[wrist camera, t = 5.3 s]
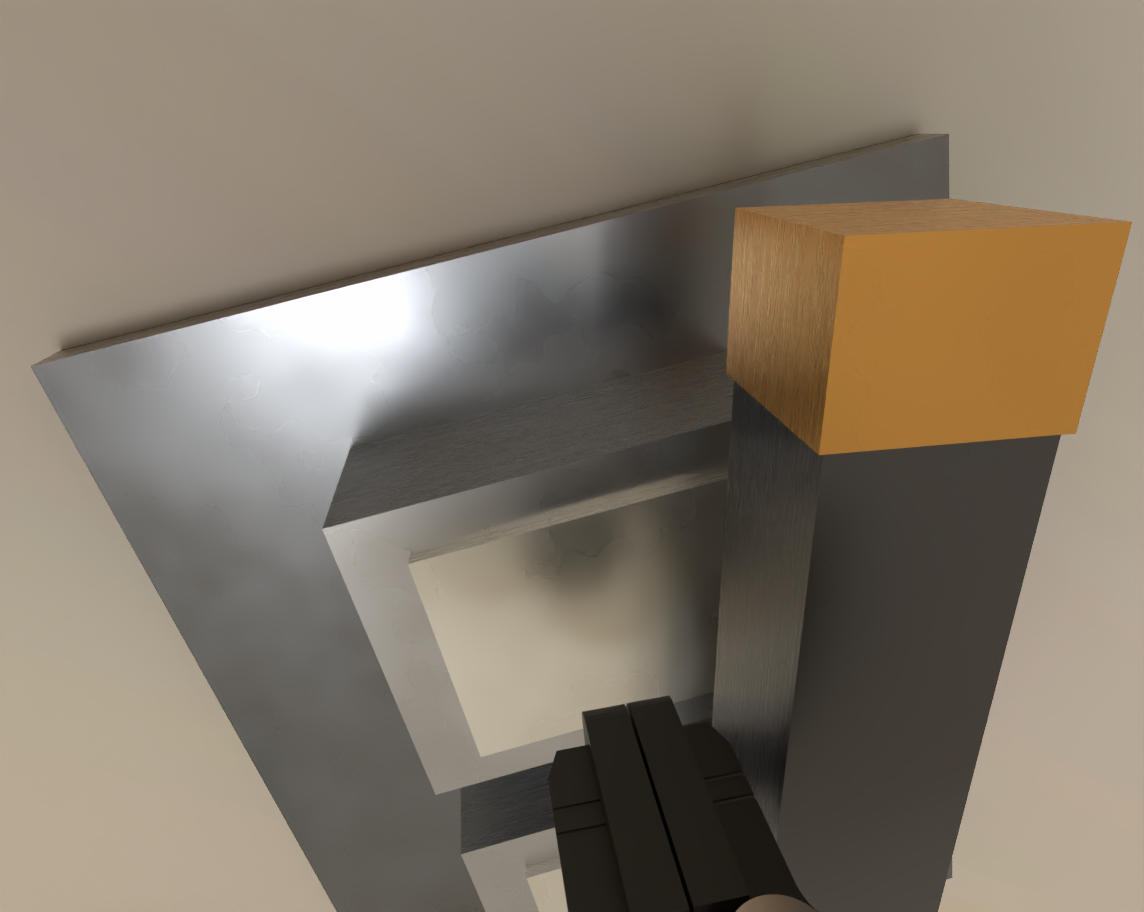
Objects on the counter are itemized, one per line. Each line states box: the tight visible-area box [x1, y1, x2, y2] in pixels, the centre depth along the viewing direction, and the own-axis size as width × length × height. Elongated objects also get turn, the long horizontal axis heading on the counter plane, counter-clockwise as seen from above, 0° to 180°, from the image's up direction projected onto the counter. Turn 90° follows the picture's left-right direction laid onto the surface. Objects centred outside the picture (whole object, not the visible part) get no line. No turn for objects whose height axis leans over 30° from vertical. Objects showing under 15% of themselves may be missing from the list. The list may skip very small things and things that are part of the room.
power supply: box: [461, 717, 712, 912], centre depth 20 cm, size 7×9×4 cm
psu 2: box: [322, 350, 734, 795], centre depth 17 cm, size 7×9×4 cm
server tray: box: [31, 134, 952, 912], centre depth 19 cm, size 25×20×7 cm
